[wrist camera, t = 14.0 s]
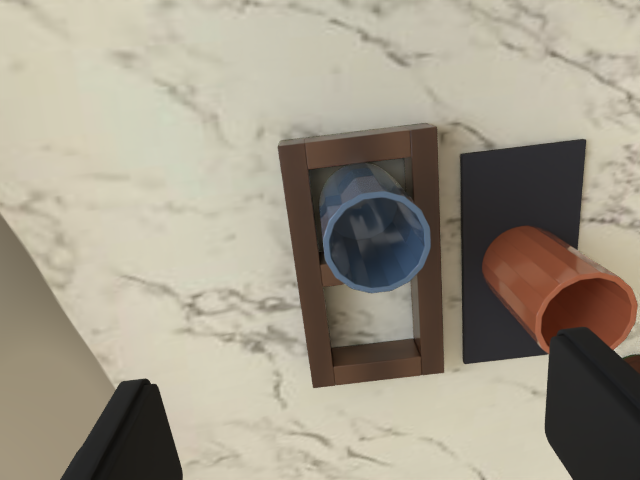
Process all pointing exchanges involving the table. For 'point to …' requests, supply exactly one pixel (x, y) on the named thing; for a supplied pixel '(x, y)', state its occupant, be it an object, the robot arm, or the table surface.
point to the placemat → (504, 214)
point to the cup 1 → (371, 229)
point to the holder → (316, 274)
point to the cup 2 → (557, 287)
